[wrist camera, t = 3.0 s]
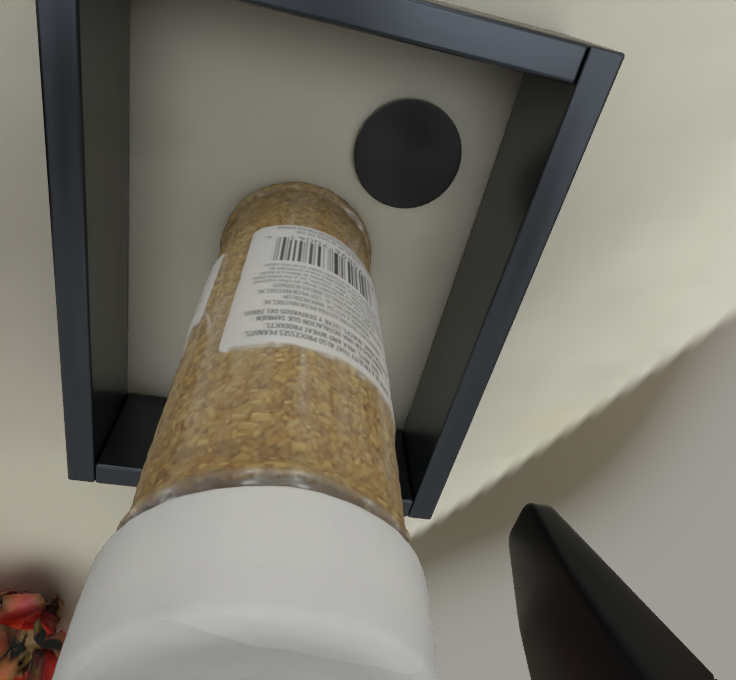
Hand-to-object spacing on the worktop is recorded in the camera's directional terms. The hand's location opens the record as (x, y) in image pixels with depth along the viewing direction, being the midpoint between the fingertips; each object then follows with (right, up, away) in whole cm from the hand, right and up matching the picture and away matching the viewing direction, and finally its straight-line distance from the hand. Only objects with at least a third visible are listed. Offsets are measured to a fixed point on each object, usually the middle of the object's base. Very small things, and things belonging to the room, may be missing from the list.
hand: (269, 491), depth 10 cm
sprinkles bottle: (0, +5, +8) cm, 10 cm away
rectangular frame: (0, +5, +8) cm, 10 cm away
